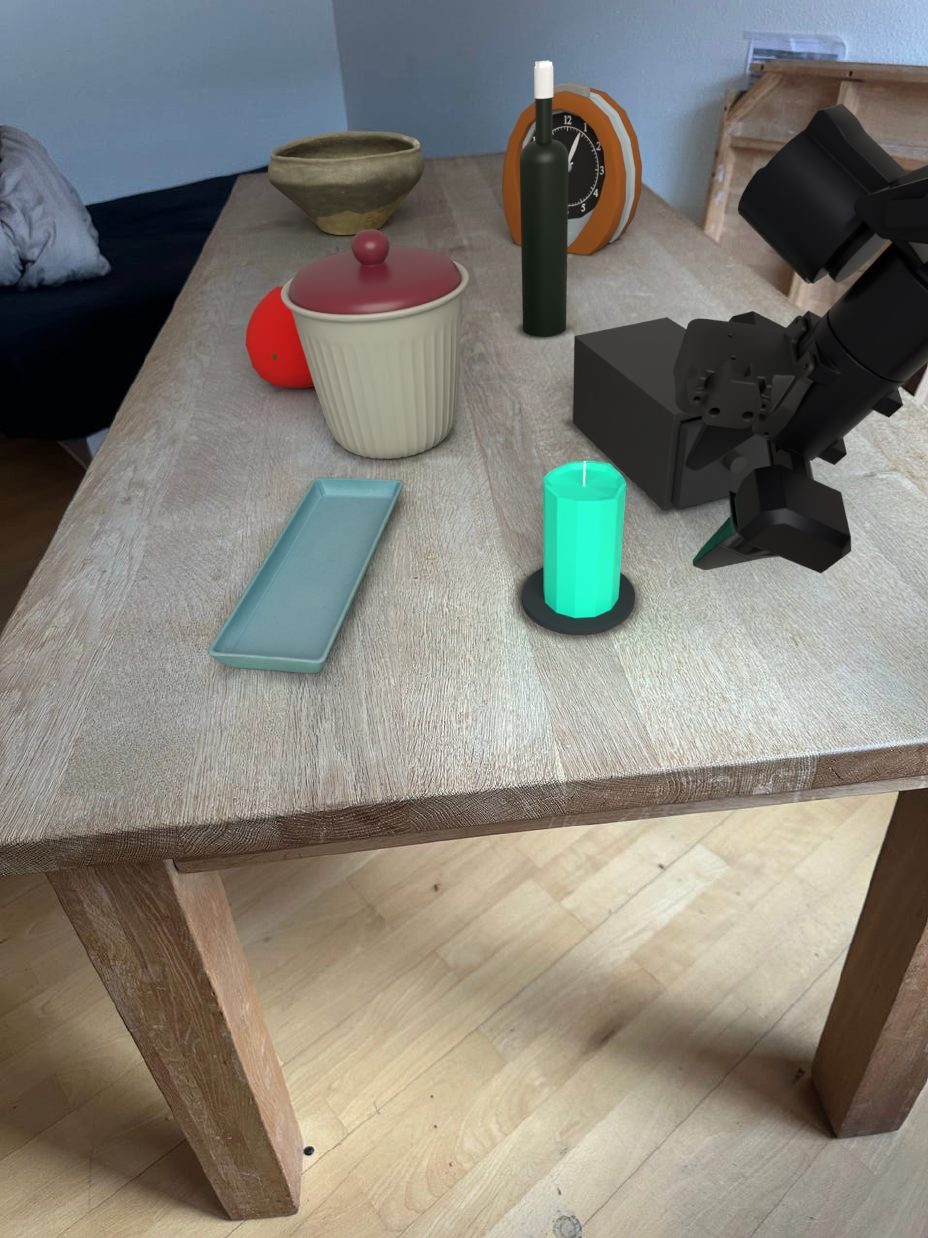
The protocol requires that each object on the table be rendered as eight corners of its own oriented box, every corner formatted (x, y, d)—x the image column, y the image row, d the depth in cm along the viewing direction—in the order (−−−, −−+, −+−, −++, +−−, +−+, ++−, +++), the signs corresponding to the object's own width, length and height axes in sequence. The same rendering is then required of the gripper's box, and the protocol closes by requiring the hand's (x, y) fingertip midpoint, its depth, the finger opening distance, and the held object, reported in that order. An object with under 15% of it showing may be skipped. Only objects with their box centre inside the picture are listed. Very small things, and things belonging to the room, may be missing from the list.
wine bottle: (536, 318, 116) (534, 57, 97) (573, 324, 113) (579, 57, 94) (514, 332, 112) (508, 64, 93) (552, 339, 109) (553, 65, 90)
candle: (558, 625, 65) (559, 489, 57) (532, 580, 69) (530, 449, 62) (631, 608, 66) (641, 472, 58) (601, 565, 70) (607, 434, 63)
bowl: (311, 260, 143) (295, 167, 134) (259, 225, 162) (243, 142, 153) (456, 227, 152) (450, 139, 143) (391, 199, 171) (382, 119, 162)
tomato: (291, 427, 102) (360, 387, 110) (321, 351, 92) (394, 313, 100) (215, 356, 102) (290, 321, 111) (238, 272, 92) (318, 241, 101)
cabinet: (764, 485, 79) (782, 389, 73) (663, 511, 77) (673, 414, 71) (659, 402, 94) (667, 316, 88) (572, 422, 91) (574, 335, 85)
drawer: (777, 491, 77) (793, 412, 72) (685, 515, 75) (695, 435, 70) (667, 405, 91) (673, 334, 86) (588, 423, 89) (590, 351, 84)
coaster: (658, 604, 67) (659, 598, 66) (570, 651, 63) (570, 645, 63) (583, 553, 73) (584, 547, 72) (499, 593, 69) (499, 587, 69)
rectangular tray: (317, 494, 83) (312, 472, 82) (407, 498, 82) (404, 475, 80) (212, 678, 63) (203, 653, 62) (328, 687, 62) (322, 662, 60)
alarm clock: (495, 241, 144) (489, 86, 130) (528, 226, 150) (525, 76, 136) (609, 258, 133) (616, 91, 119) (639, 241, 139) (649, 79, 125)
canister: (499, 407, 95) (491, 206, 82) (442, 489, 82) (421, 265, 69) (355, 393, 101) (326, 202, 87) (281, 467, 88) (232, 256, 74)
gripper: (732, 189, 49) (593, 381, 61) (768, 398, 38) (590, 582, 50) (880, 270, 52) (720, 438, 64) (952, 485, 41) (743, 640, 53)
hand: (694, 514), depth 58 cm, fingers open, 9 cm apart
